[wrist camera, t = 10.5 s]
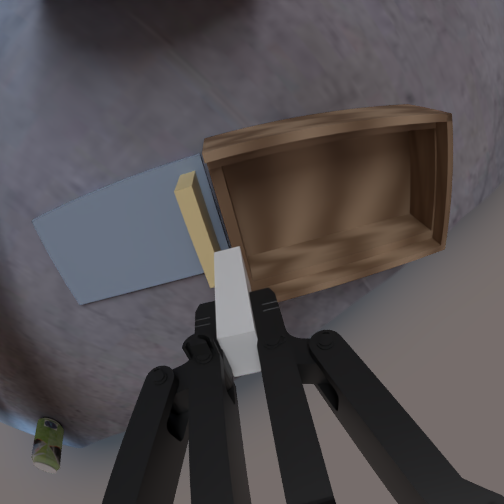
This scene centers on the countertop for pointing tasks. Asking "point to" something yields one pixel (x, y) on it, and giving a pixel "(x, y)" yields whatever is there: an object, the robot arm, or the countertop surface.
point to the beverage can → (47, 445)
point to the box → (334, 194)
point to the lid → (136, 232)
